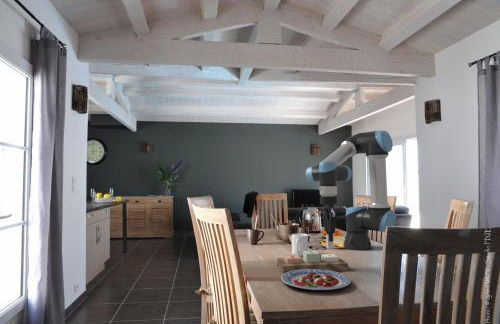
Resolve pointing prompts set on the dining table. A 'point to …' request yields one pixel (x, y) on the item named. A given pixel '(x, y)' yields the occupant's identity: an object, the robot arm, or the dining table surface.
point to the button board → (312, 265)
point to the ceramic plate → (316, 279)
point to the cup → (299, 244)
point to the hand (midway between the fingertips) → (330, 248)
